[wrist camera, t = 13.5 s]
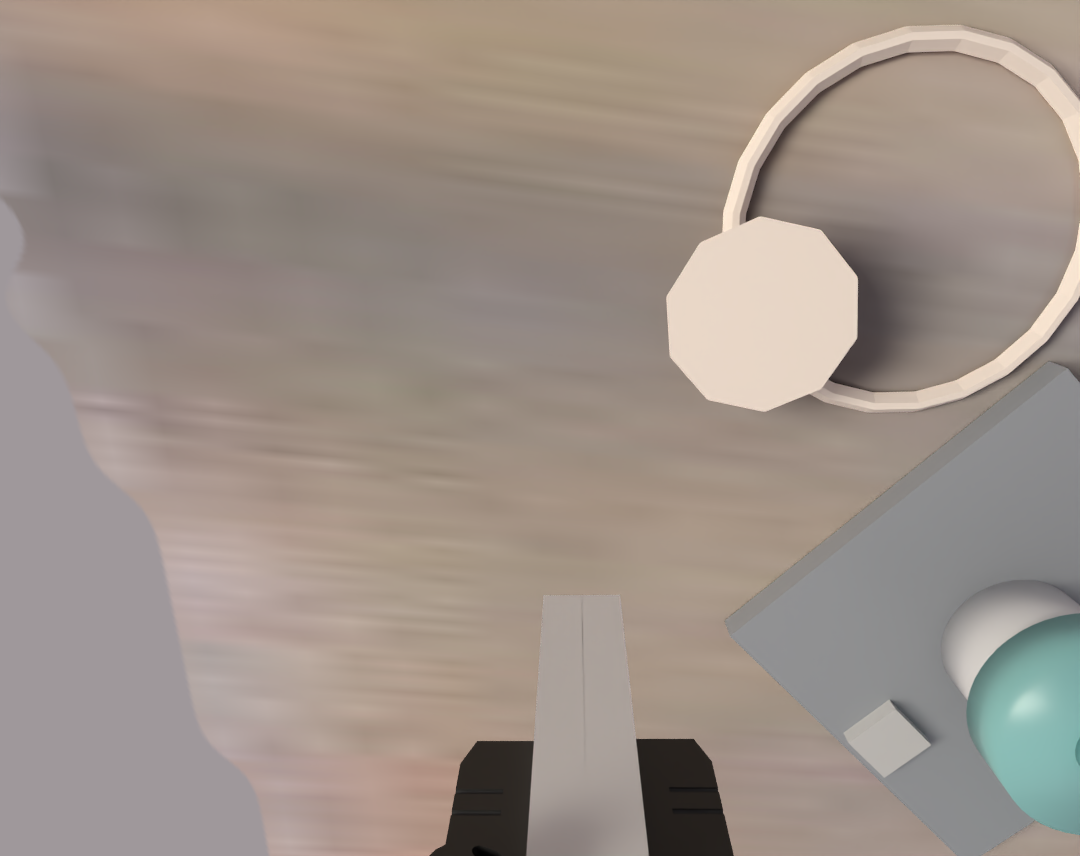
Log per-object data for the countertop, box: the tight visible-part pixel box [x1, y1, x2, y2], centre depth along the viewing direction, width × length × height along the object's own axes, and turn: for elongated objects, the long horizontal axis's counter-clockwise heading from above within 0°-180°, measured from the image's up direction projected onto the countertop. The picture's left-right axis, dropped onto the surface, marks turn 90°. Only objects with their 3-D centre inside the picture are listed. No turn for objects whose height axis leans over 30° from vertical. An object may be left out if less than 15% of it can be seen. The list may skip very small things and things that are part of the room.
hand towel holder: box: [666, 24, 1080, 413], centre depth 35 cm, size 17×4×21 cm
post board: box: [725, 361, 1080, 856], centre depth 39 cm, size 20×23×6 cm
